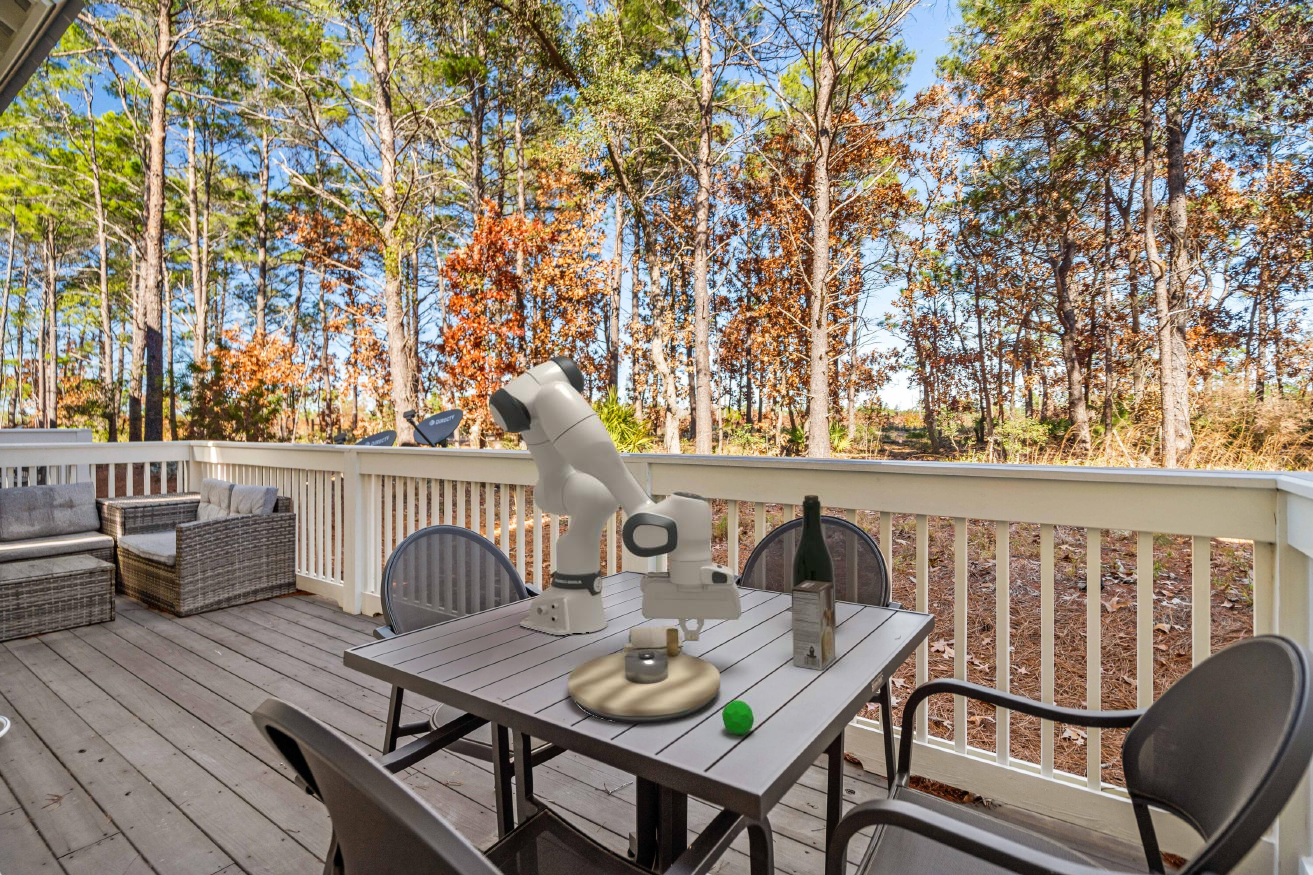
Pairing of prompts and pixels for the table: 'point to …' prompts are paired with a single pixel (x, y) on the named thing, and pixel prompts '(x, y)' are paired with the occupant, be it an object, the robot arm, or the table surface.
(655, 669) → the iron cover
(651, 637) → the washcloth
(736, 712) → the polyhedron
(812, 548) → the wine bottle
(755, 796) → the table surface
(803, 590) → the coffee box
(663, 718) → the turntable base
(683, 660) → the turntable
